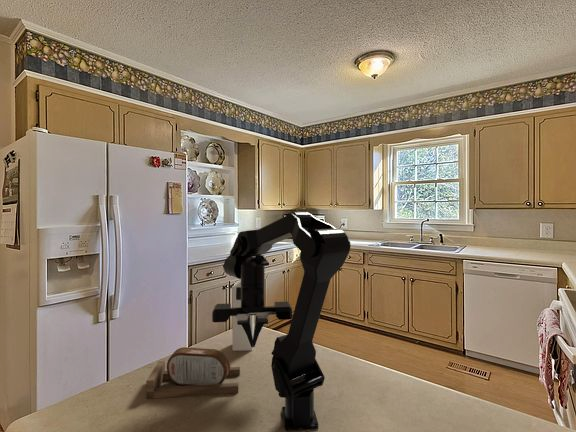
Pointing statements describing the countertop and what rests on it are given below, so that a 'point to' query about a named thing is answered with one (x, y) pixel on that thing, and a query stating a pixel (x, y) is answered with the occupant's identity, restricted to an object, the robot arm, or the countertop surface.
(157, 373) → the wooden frame
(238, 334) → the milk
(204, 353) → the tin
